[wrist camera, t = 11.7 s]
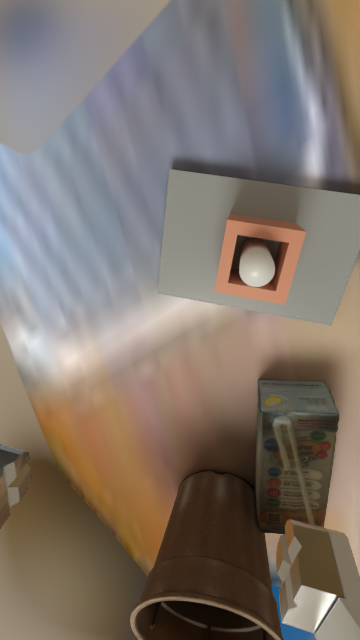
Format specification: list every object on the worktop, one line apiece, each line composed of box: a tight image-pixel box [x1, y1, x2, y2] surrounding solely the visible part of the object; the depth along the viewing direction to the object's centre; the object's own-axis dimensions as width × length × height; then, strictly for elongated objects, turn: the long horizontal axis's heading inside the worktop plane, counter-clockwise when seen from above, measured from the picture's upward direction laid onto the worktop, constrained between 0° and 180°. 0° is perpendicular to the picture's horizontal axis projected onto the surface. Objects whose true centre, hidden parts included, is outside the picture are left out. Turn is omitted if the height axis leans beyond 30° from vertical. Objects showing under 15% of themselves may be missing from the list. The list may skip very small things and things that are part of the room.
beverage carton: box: [255, 380, 339, 534], centre depth 37 cm, size 8×19×7 cm, turn 5°
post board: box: [157, 169, 360, 325], centre depth 27 cm, size 18×12×8 cm, turn 83°
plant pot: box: [130, 471, 284, 640], centre depth 39 cm, size 16×16×16 cm
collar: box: [214, 214, 306, 305], centre depth 27 cm, size 6×6×5 cm
